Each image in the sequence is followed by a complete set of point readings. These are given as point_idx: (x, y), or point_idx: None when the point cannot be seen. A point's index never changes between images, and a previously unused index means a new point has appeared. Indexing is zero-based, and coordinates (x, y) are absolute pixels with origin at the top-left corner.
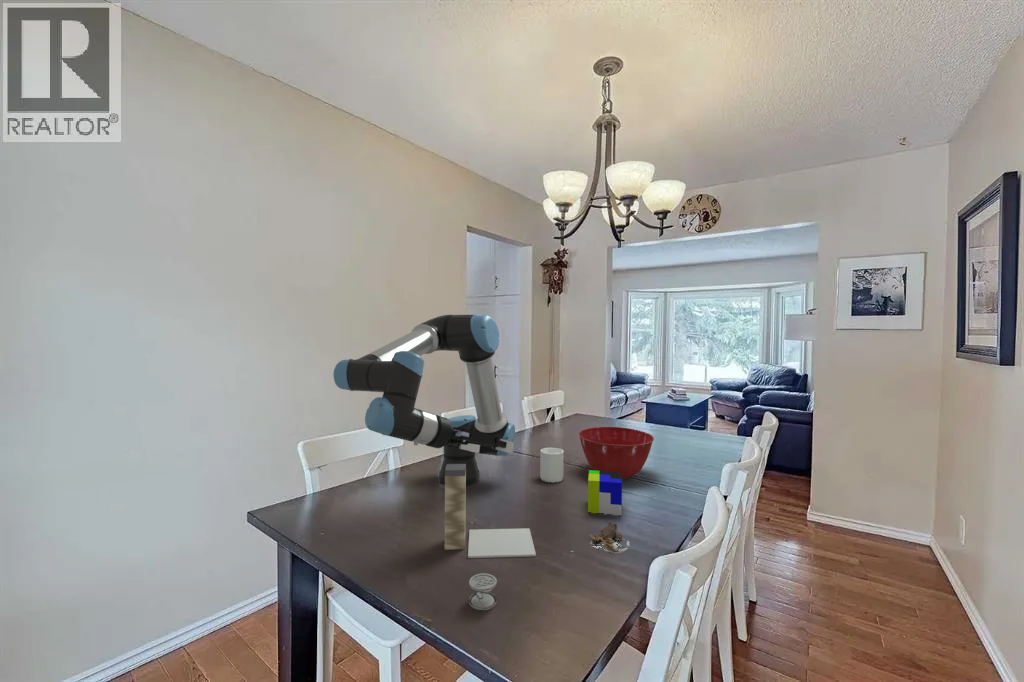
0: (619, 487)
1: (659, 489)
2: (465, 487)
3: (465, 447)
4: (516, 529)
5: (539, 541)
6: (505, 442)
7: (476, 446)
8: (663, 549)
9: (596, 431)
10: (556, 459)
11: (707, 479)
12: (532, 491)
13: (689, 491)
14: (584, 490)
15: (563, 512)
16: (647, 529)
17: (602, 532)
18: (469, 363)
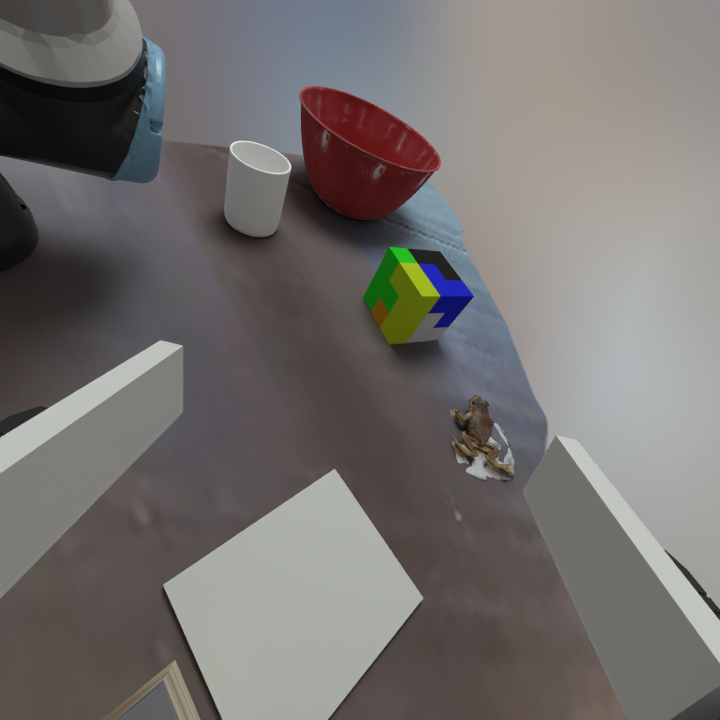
0: (464, 303)
1: (427, 247)
2: (185, 712)
3: (62, 513)
4: (309, 492)
5: (383, 514)
6: (687, 579)
7: (161, 392)
8: (540, 427)
9: (317, 97)
10: (280, 187)
11: (452, 216)
12: (237, 279)
13: (457, 249)
14: (335, 261)
15: (351, 357)
16: (489, 372)
17: (474, 431)
18: None
